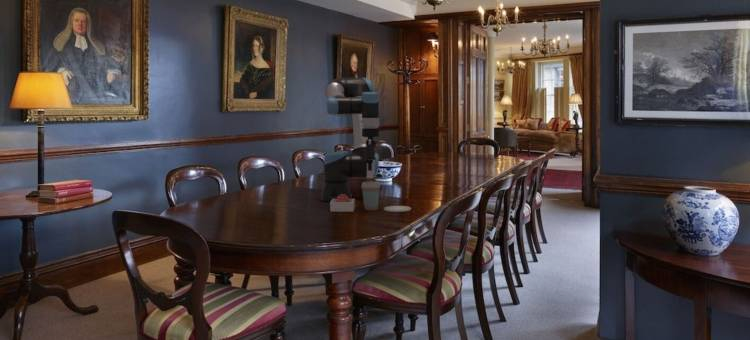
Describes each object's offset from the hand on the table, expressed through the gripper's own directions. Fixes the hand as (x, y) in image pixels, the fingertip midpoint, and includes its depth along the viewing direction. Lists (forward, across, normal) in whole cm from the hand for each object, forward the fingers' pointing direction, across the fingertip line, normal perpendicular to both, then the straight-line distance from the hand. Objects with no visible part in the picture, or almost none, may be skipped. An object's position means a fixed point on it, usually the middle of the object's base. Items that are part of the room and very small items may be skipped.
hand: (370, 176), depth 250 cm
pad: (+15, 0, +12) cm, 19 cm away
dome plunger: (+13, 0, -12) cm, 18 cm away
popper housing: (+15, 0, -12) cm, 19 cm away
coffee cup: (+15, 0, 0) cm, 15 cm away
